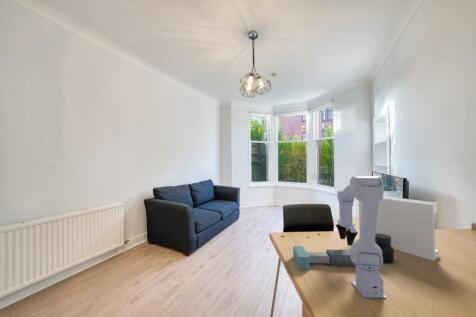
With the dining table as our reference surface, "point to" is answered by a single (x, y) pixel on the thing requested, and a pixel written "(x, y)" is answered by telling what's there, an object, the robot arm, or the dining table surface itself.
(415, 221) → the block
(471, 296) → the dining table surface
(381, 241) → the ink bottle
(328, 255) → the grey square bar
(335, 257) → the dark grey rectangular bar
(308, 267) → the socket block
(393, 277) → the dining table surface
